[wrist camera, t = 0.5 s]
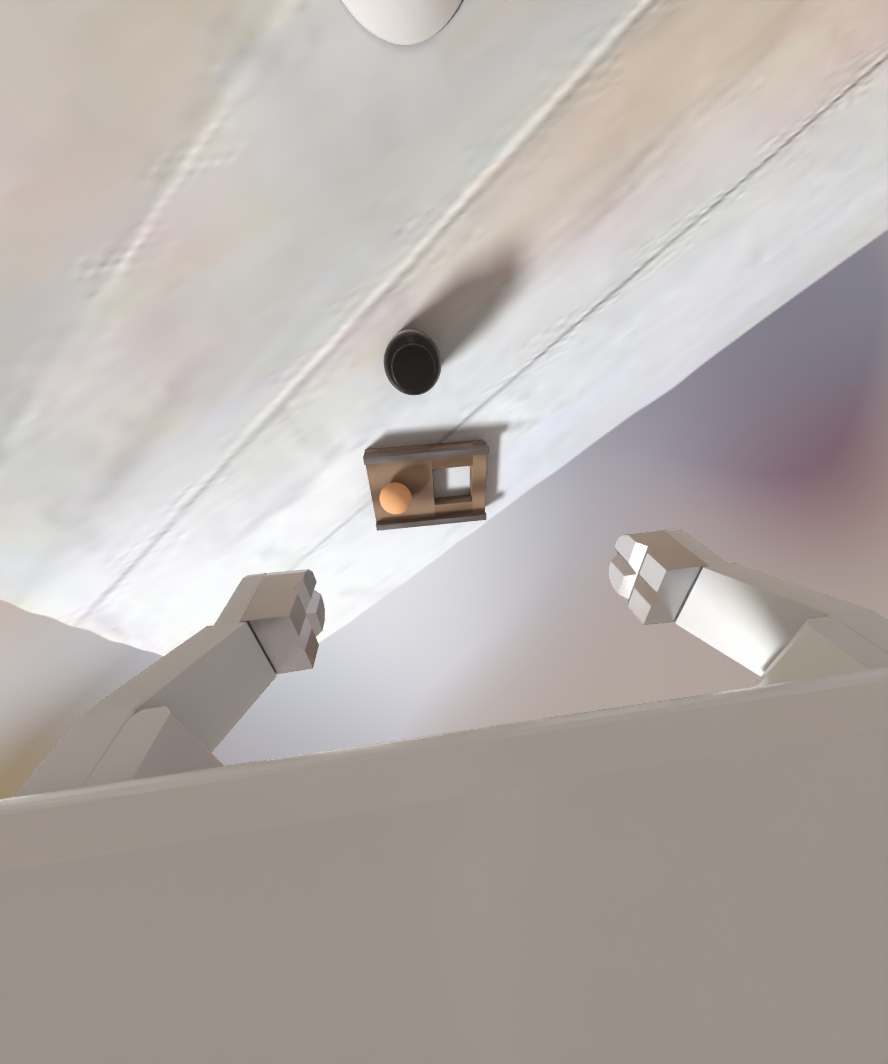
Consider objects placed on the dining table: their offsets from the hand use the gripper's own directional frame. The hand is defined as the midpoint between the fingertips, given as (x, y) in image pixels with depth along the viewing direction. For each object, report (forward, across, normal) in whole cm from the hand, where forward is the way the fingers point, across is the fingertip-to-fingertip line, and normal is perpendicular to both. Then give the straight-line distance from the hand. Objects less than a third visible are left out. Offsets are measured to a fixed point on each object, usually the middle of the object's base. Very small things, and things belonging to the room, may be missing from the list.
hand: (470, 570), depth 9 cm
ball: (+40, +5, +18) cm, 44 cm away
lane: (+45, -1, +18) cm, 48 cm away
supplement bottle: (+45, 0, -1) cm, 45 cm away
